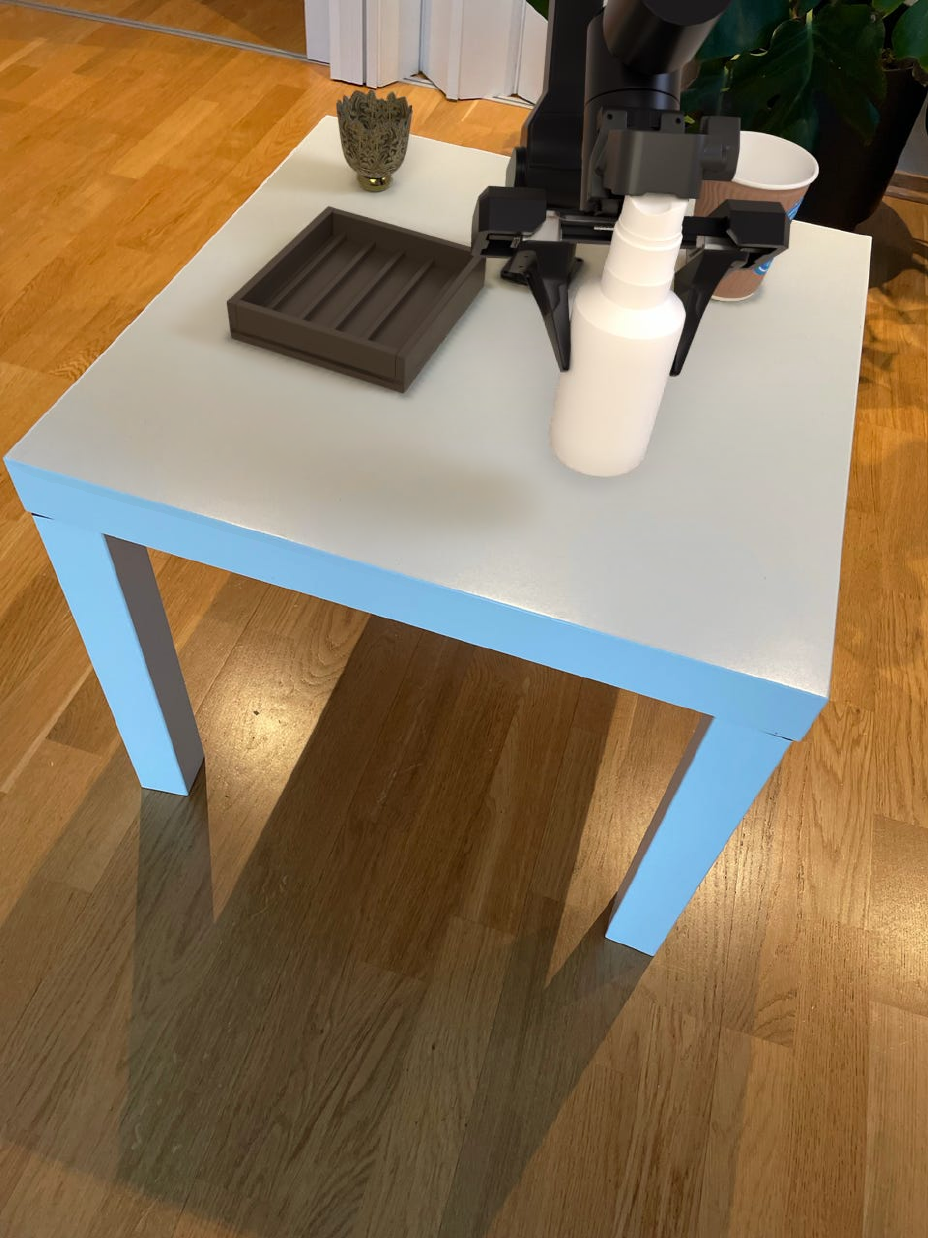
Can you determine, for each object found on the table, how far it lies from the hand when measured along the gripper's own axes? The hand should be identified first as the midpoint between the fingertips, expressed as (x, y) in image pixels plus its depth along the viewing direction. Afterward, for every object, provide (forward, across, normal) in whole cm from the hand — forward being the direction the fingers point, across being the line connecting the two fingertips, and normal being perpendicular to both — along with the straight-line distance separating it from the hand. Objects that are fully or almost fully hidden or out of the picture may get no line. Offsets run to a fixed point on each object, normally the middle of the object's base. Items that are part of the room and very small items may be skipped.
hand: (619, 373), depth 59 cm
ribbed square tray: (-8, -17, +27) cm, 33 cm away
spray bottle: (+4, 0, +6) cm, 7 cm away
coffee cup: (-14, +18, +33) cm, 40 cm away
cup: (-24, -16, +44) cm, 53 cm away
